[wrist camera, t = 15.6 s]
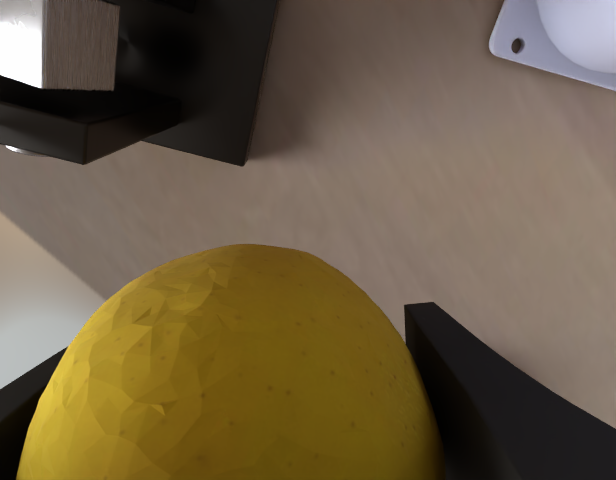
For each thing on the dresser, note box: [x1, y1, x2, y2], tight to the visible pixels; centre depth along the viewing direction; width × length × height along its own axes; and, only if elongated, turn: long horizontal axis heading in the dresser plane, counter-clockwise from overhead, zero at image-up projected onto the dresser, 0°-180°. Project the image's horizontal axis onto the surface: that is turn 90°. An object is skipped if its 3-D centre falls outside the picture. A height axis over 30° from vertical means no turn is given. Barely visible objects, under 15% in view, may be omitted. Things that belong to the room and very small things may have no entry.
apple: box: [16, 244, 446, 480], centre depth 7 cm, size 6×6×8 cm
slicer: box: [0, 0, 280, 166], centre depth 13 cm, size 10×7×8 cm
